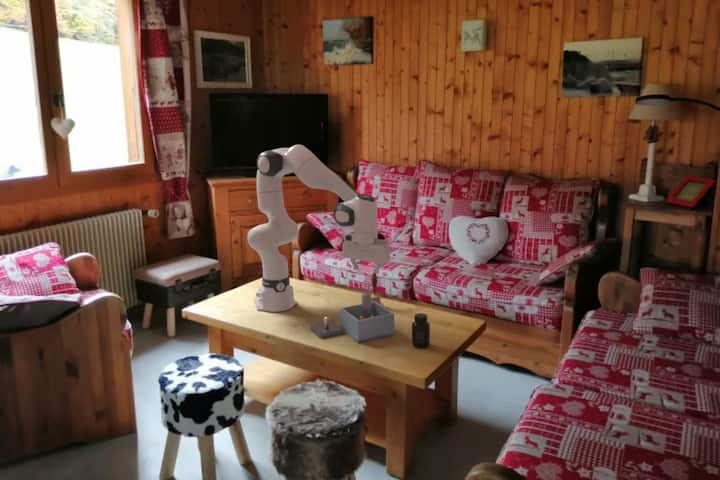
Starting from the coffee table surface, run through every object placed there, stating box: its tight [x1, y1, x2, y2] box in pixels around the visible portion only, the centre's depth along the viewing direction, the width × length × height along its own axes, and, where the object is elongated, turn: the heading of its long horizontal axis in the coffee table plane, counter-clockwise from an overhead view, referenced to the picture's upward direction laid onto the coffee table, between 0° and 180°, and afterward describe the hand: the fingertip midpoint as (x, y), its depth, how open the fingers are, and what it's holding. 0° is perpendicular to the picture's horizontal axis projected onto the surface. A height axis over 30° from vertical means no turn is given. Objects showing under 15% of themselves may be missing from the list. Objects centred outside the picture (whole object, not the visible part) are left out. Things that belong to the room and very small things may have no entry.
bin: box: [339, 301, 395, 344], centre depth 234 cm, size 16×16×9 cm
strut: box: [359, 293, 374, 320], centre depth 233 cm, size 4×4×15 cm
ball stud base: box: [310, 316, 345, 339], centre depth 235 cm, size 10×10×6 cm
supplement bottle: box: [411, 312, 431, 349], centre depth 221 cm, size 7×7×12 cm
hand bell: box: [371, 272, 385, 307], centre depth 260 cm, size 8×8×16 cm
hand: (365, 271), depth 229 cm, fingers open, 8 cm apart
